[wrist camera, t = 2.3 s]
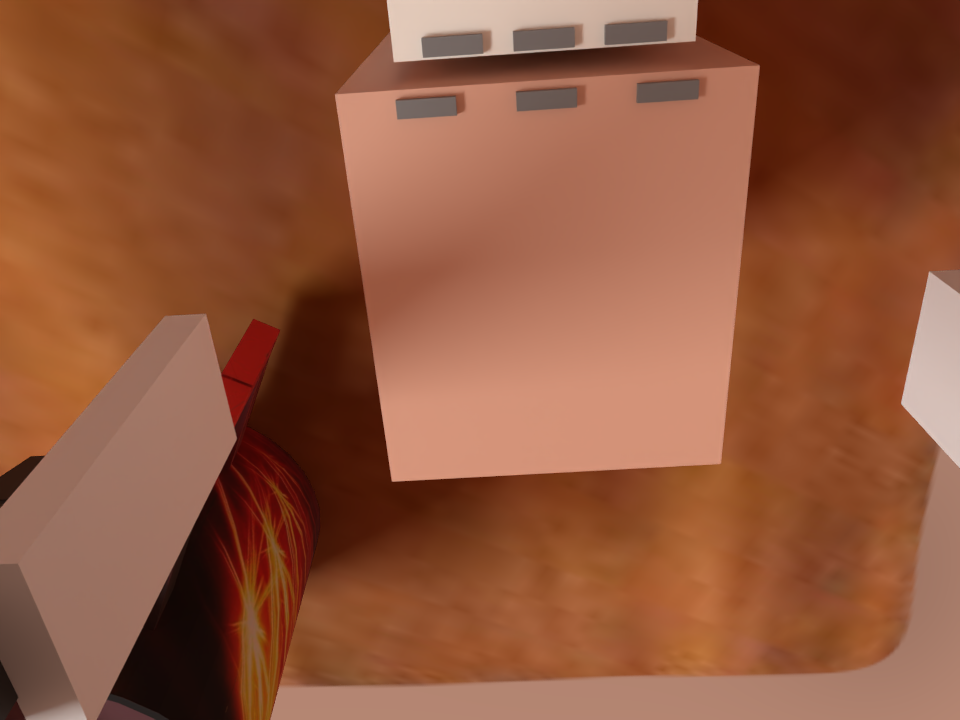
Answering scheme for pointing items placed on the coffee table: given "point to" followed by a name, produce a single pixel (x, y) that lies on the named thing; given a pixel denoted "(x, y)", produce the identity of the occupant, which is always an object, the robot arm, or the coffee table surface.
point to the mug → (228, 579)
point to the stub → (550, 253)
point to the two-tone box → (533, 26)
